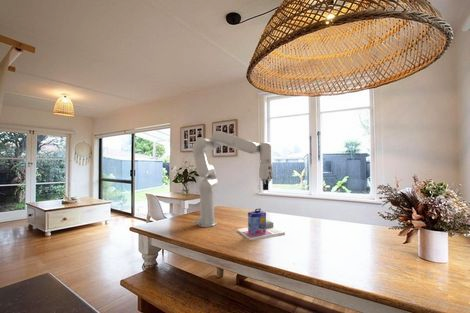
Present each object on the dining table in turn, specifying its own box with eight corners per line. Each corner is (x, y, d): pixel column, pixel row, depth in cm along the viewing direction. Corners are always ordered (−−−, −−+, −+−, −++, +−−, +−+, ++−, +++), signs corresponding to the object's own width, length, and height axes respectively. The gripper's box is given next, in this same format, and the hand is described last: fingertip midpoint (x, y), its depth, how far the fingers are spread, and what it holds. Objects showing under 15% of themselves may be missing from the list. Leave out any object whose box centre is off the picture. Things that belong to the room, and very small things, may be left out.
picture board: (250, 240, 121) (250, 232, 121) (237, 231, 138) (236, 224, 138) (284, 234, 131) (284, 227, 131) (268, 226, 147) (268, 219, 147)
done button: (265, 226, 139) (265, 222, 139) (262, 225, 143) (262, 221, 143) (270, 225, 141) (270, 221, 141) (267, 224, 144) (267, 220, 144)
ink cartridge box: (252, 235, 125) (251, 210, 125) (247, 232, 130) (247, 208, 130) (266, 232, 129) (266, 208, 129) (261, 230, 134) (261, 206, 134)
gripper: (276, 161, 137) (277, 191, 137) (264, 161, 151) (264, 188, 151) (266, 161, 134) (266, 191, 134) (254, 161, 148) (254, 189, 147)
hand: (265, 189), depth 142 cm, fingers closed
